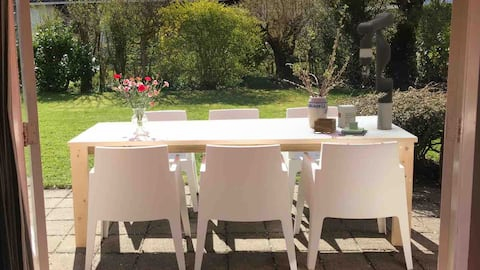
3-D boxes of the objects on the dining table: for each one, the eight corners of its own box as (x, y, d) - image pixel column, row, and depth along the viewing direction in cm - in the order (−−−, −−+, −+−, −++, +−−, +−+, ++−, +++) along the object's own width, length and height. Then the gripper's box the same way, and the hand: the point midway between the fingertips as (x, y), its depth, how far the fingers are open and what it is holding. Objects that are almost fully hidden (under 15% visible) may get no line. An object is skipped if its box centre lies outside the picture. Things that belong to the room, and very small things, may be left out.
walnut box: (318, 130, 339) (317, 118, 337) (336, 130, 335) (336, 118, 333) (314, 133, 328) (314, 120, 326) (333, 133, 324) (333, 121, 322)
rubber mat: (342, 130, 334) (342, 129, 334) (367, 130, 329) (367, 130, 329) (338, 135, 318) (338, 134, 317) (364, 136, 312) (364, 135, 312)
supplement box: (337, 126, 349) (337, 105, 346) (349, 125, 352) (349, 104, 349) (344, 128, 340) (344, 106, 338) (355, 127, 343) (356, 105, 340)
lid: (345, 130, 331) (345, 120, 330) (364, 130, 327) (364, 120, 325) (342, 133, 320) (342, 123, 318) (362, 134, 316) (362, 123, 314)
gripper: (361, 56, 316) (360, 82, 319) (358, 57, 303) (358, 84, 306) (373, 55, 314) (373, 82, 316) (371, 56, 300) (370, 84, 303)
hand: (365, 83), depth 311 cm, fingers open, 8 cm apart
